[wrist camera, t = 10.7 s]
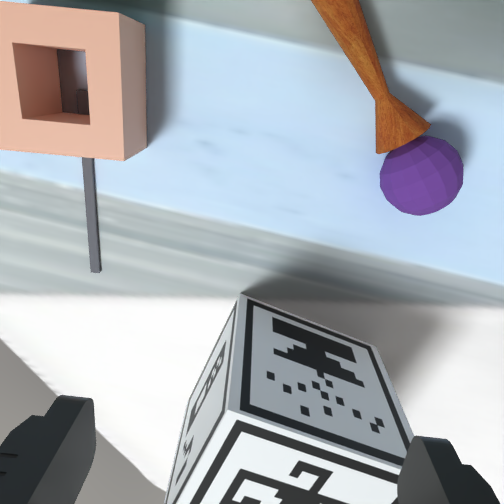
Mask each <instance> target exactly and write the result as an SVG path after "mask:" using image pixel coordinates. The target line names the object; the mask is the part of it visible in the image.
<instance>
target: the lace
mask: <svg viewBox="0 0 504 504" xmlns="http://www.w3.org/2000/svg"><path fill="white" fill-rule="evenodd" d="M77 102H78V114H83V115H90V111H89V97H88V91H84V90H77ZM82 166H83V179H84V191H85V204H86V217H87V229H88V242H89V255H90V267H91V272H94V273H100V272H101V271H100V256H99V242H98V227H97V212H96V197H95V183H94V168H93V158H86V157H82Z"/></svg>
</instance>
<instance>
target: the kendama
mask: <svg viewBox="0 0 504 504" xmlns="http://www.w3.org/2000/svg"><path fill="white" fill-rule="evenodd" d="M311 1H312V3H313V4H314V6H315V7H316V9H317V10H318V12H319V14H320V15H321V17H322V18H323V20H324V21H325V23H326V24H327V26H328V28H329V29H330V31H331V32H332V34H333V35H334V37H335V39H336V40H337V42H338V43H339V45H340V46H341V48H342V49H343V51H344V53H345V54H346V56H347V57H348V59H349V60H350V62H351V64H352V65H353V67H354V68H355V70H356V71H357V73H358V74H359V76H360V78H361V79H362V81H363V82H364V84H365V85H366V87H367V89H368V90H369V92H370V93H371V95H372V96H373V98H374V99H375V114H376V153H377V154H381V153H386V152H388V151H391V150H392V151H391V152H390V153H389V154H388V155H387V156H386V158H385V161H384V163H383V166H382V168H381V171H380V188H381V190H382V192H383V193H384V195H385V197H386V199H387V201H389V202H390V203H391V204H392V205H393V206H395V207H396V208H397V209H398V210H400V211H401V212H404V213H408V214H412V215H420V216H421V215H426V214H430V213H433V212H436V211H438V210H440V209H442V208H444V207H446V206H447V205H448V204H450V203H451V202H452V201H453V200H454V199H455V198H456V196H457V194H458V192H459V190H460V189H461V187H462V185H463V163H462V161H461V158H460V156H459V154H458V152H457V150H456V149H455V148H453V147H452V146H451V145H450V144H449V143H447V142H446V141H445V140H441V139H438V138H434V137H430V136H420V135H421V134H423V133H424V132H426V131H427V130H428V129H429V128H430V125H431V124H430V123H428V122H427V121H426V120H425V119H423V118H422V117H421V116H419V115H418V114H417V113H415V112H414V111H413V110H411V109H410V108H409V107H408V106H406V105H405V104H404V103H402V102H401V101H400V100H398V99H397V98H396V97H395V96H393V95H392V94H391V93H389V90H388V87H387V84H386V81H385V78H384V75H383V72H382V69H381V66H380V63H379V60H378V57H377V54H376V51H375V48H374V45H373V42H372V39H371V36H370V33H369V30H368V27H367V24H366V21H365V18H364V15H363V12H362V9H361V6H360V3H359V0H311ZM418 136H420V137H418Z"/></svg>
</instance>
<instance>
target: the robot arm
mask: <svg viewBox="0 0 504 504" xmlns="http://www.w3.org/2000/svg"><path fill="white" fill-rule="evenodd" d="M95 449H96V434H95V417H94V403H93V400H92V399H91V398H84V397H75V396H66V395H60V396H59V397H57V398H56V400H55V401H54V403H53V404H52V406H51V407H50V409H49V410H48V411H47V413H46V414H45V416H44V417H43V416H35V415H32V416H30V417H29V418H28V419H27V420H25V421H24V422H23V423H21V424H20V425H19V426H17V427H16V428H15V429H13V430H12V431H11V432H10V433H9V435H8V436H7V437H6V439H5V440H4V441H3V443H2V444H1V446H0V504H74V503H75V501H76V499H77V496H78V494H79V492H80V490H81V488H82V486H83V483H84V481H85V479H86V477H87V475H88V473H89V470H90V468H91V465H92V462H93V459H94V454H95ZM397 495H398V502H399V504H500V502H499V501H498V499H497V497H496V495H495V493H494V491H493V490H492V488H491V486H490V485H489V484H488V483H487V482H486V481H485V480H484V479H483V478H482V476H481V475H480V474H479V473H478V472H477V471H476V470H475V469H474V468H473V467H472V466H471V465H464V464H462V463H461V461H460V459H459V457H458V455H457V453H456V451H455V449H454V447H453V446H452V444H451V443H450V441H448V440H447V439H441V438H432V437H423V436H414V437H413V439H412V441H411V443H410V446H409V449H408V452H407V454H406V457H405V460H404V463H403V465H402V468H401V471H400V474H399V477H398V482H397Z"/></svg>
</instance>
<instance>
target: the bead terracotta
mask: <svg viewBox="0 0 504 504" xmlns="http://www.w3.org/2000/svg"><path fill="white" fill-rule="evenodd" d="M57 49H63V50H73V51H83V52H85V53H86V67H87V82H88V97H89V111H90V115H83V114H77V113H66V112H63V110H62V100H61V89H60V78H59V67H58V57H57ZM145 148H147V116H146V51H145V25H144V24H142V23H140V22H138V21H136V20H134V19H131V18H129V17H127V16H125V15H123V14H121V13H118V12H108V11H97V10H87V9H77V8H66V7H56V6H46V5H35V4H25V3H15V2H5V1H0V150H11V151H21V152H32V153H43V154H54V155H65V156H75V157H86V158H97V159H108V160H119V161H125V160H127V159H129V158H130V157H132V156H134V155H135V154H137V153H139V152H140V151H142V150H144V149H145Z"/></svg>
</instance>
